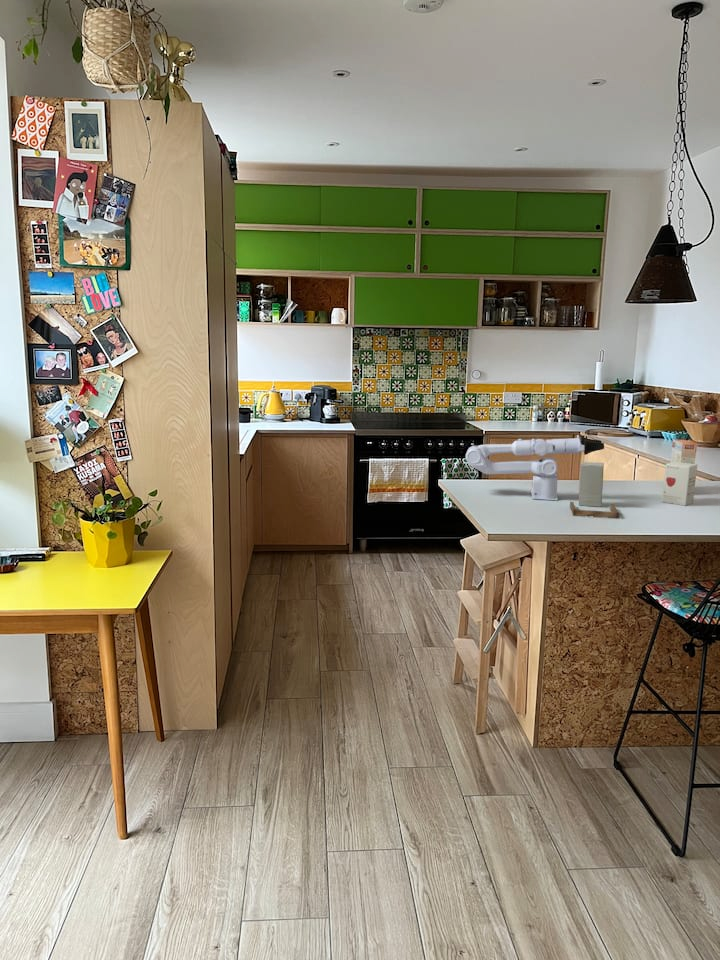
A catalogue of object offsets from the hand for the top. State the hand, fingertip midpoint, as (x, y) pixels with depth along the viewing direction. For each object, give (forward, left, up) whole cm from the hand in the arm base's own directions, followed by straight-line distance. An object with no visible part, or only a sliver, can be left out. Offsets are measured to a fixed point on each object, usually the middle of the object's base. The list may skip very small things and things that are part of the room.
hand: (602, 444), depth 266 cm
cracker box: (+36, +31, -22) cm, 52 cm away
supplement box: (+30, +7, -22) cm, 38 cm away
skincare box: (-4, -8, -22) cm, 24 cm away
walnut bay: (-4, -21, -22) cm, 30 cm away
